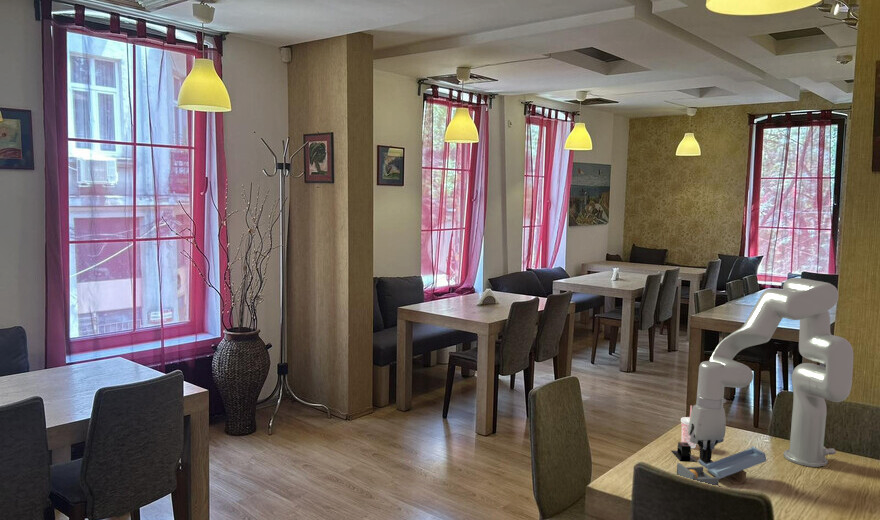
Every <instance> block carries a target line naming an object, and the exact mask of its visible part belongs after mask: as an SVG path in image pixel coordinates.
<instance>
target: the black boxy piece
mask: <svg viewBox="0 0 880 520" xmlns="http://www.w3.org/2000/svg"><path fill="white" fill-rule="evenodd" d="M670 452H671V453H672V454H673V455H674V456H675V457H676V459H677V460H678V461H679V462H683V463H698V460H696V459H695V457H694V456H692V448H691V446H690V445H689V444H688V443H687V442H681V441H678V443H677V450H670Z"/></svg>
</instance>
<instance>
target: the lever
mask: <svg viewBox="0 0 880 520" xmlns="http://www.w3.org/2000/svg"><path fill="white" fill-rule="evenodd" d="M766 456H767V455H766V453H765V452H764V451H762V450H760V449H759V448H757V447H755V446H750V448H748V449H747V448H746V449H744V450H742V451H739V452H737V453H734V454H732V455H729V456H725V457H723V458H720V459H717V460H715V461H713V460H712V459H711V462H709V463H708V462H707V463H705V462H703V461H702V460H700V459H698V460H697V463H698V464H699V465H701V467H703V468H705V469H707V472H709V473H710V474H712V476H714V477H718V478H719V480H720V479H724V477H725V476H728V475H731V474H733V473H736V472H739V471H741V470H743V471H745V470H747V469H750V468H752V467H755V466H757V465H760V464H762V463H763V464H764V463H765V462H767V457H766Z"/></svg>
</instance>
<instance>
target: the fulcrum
mask: <svg viewBox="0 0 880 520" xmlns="http://www.w3.org/2000/svg"><path fill="white" fill-rule="evenodd" d="M723 479H726V481H728V482H729V483H731V484H732V485H734V486H735V485H736V486H737V485H751V484H753V481H752V480H750V479H749V478H747V471H746V470H741V471H739V472H736V473H733V474H731V475H728V476H725V477H723Z"/></svg>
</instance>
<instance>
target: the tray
mask: <svg viewBox="0 0 880 520" xmlns="http://www.w3.org/2000/svg"><path fill="white" fill-rule="evenodd" d="M676 464H677V465H676V475H680V476H683V477H686V478H690V479H693V480H697V481H700V482H705V483H708V484H712V485H718V486H719V482H720V479H719V478H718V477H716V476H714V477H712V476H710V475H708V474H707V473H706V472H704V466H687V467H686V466H684V465H683V464H681V463H679V462H678V463H677V462H676ZM691 469H692V470H695V471H696V472H697V474H698V478H695V476H696V475H695V474H694V473H693V472H691V471H690V470H691Z"/></svg>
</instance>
